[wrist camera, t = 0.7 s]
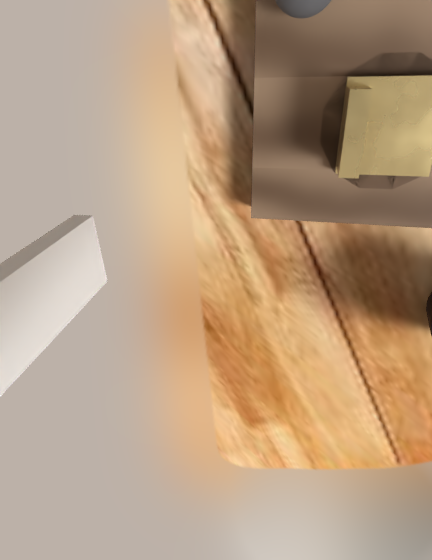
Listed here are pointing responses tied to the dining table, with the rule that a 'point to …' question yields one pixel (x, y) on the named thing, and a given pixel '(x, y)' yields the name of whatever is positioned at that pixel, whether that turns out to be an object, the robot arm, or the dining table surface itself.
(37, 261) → the robot arm
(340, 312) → the dining table surface
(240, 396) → the dining table surface
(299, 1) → the grey ball
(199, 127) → the dining table surface
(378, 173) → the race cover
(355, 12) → the board
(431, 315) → the coffee mug
